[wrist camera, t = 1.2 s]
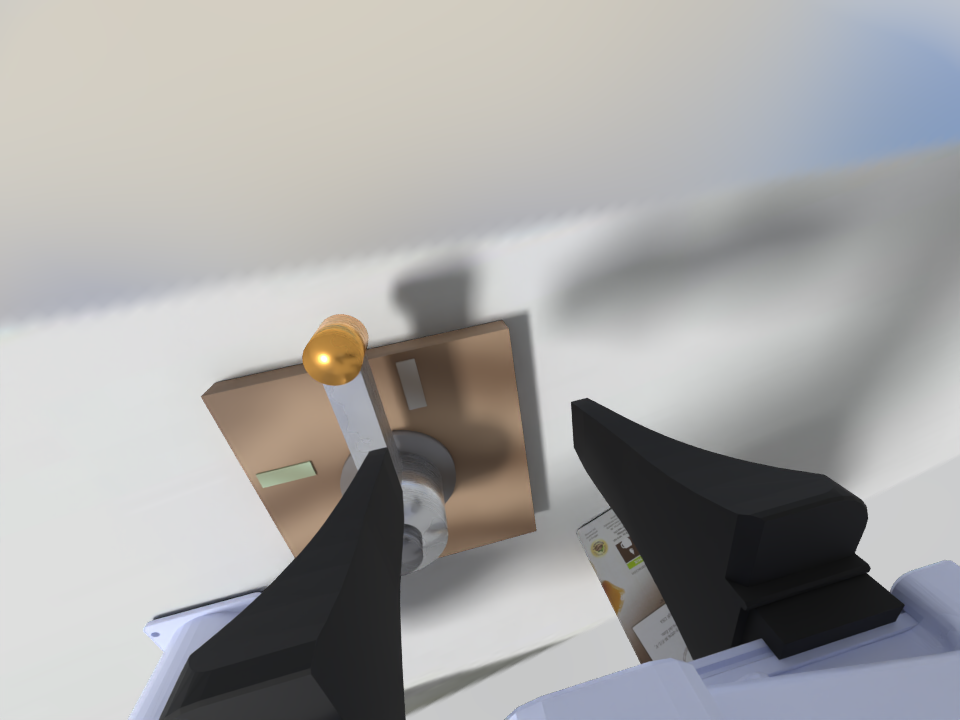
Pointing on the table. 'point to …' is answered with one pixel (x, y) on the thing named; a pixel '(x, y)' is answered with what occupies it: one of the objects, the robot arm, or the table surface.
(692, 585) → the robot arm
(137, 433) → the table surface
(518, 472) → the coupling base
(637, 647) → the coffee box
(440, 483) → the gold-capped lever
